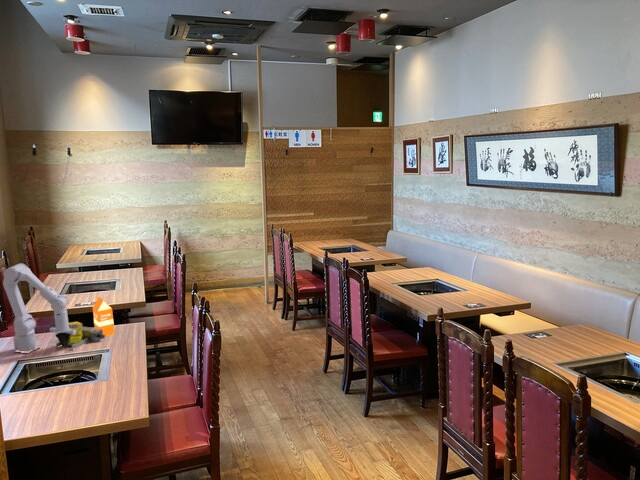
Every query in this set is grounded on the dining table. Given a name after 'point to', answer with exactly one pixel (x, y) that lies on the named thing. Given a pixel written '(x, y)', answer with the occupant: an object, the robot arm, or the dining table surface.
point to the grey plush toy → (88, 336)
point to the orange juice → (103, 317)
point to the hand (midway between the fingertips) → (64, 346)
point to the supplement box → (78, 335)
